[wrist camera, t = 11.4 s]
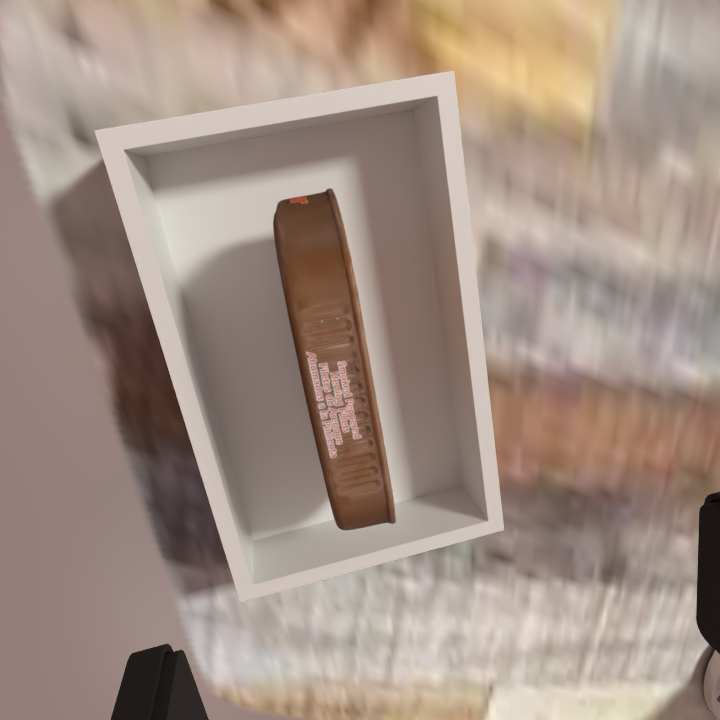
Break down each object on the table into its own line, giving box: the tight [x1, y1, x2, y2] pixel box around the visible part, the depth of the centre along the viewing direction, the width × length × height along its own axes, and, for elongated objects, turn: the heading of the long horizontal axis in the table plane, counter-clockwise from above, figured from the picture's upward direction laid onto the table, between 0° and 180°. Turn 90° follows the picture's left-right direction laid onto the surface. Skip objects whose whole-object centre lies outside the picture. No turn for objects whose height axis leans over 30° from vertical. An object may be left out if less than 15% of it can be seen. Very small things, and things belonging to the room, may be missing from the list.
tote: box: [95, 71, 504, 602], centre depth 26 cm, size 22×14×4 cm, turn 10°
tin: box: [273, 188, 396, 530], centre depth 24 cm, size 15×3×8 cm, turn 10°
